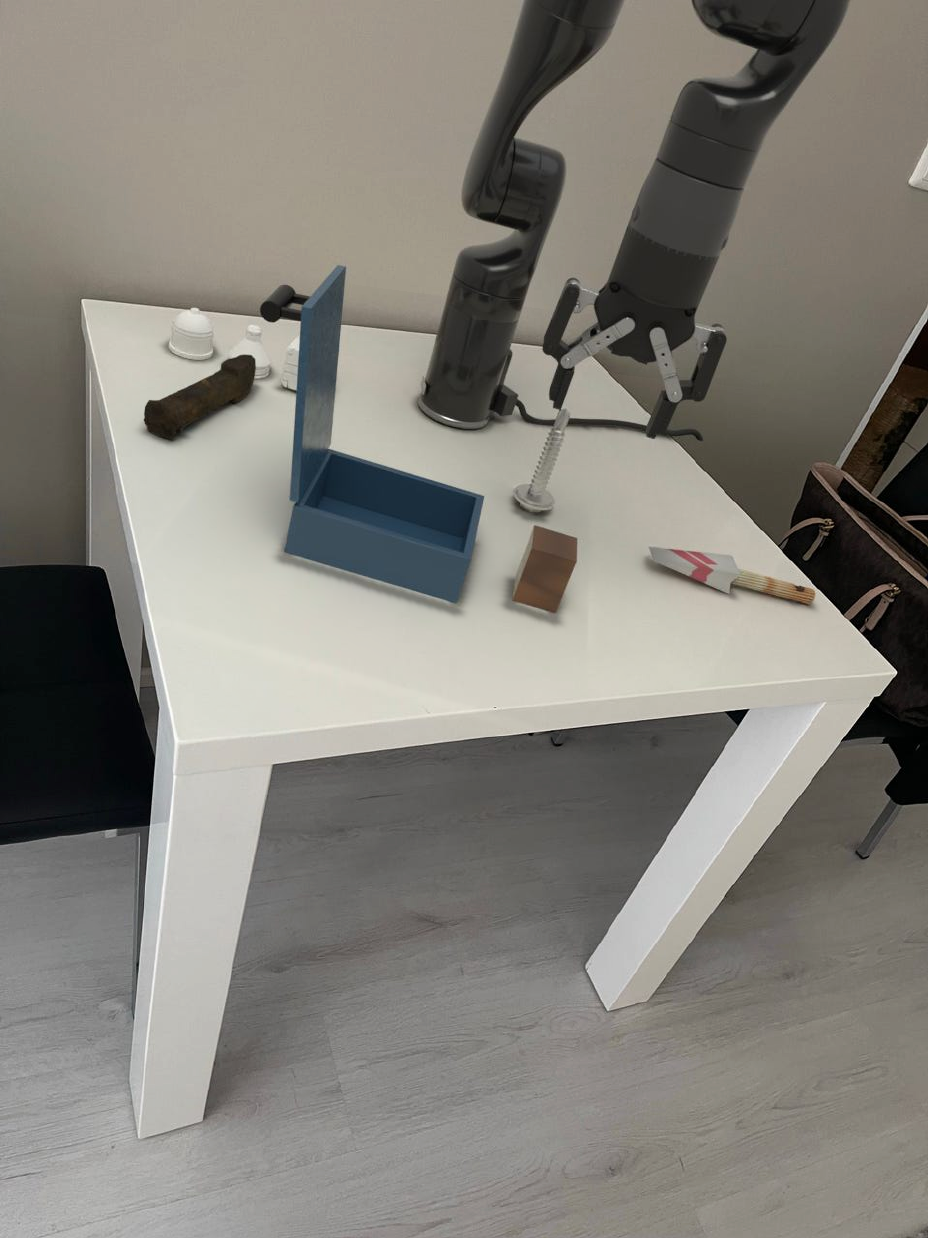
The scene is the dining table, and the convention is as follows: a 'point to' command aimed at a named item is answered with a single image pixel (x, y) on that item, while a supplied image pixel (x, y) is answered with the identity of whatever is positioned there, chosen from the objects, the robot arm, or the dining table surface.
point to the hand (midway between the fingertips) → (603, 420)
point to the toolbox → (386, 525)
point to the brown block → (545, 569)
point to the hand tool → (201, 397)
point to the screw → (543, 470)
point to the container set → (196, 343)
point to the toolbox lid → (312, 369)
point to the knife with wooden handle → (727, 573)
